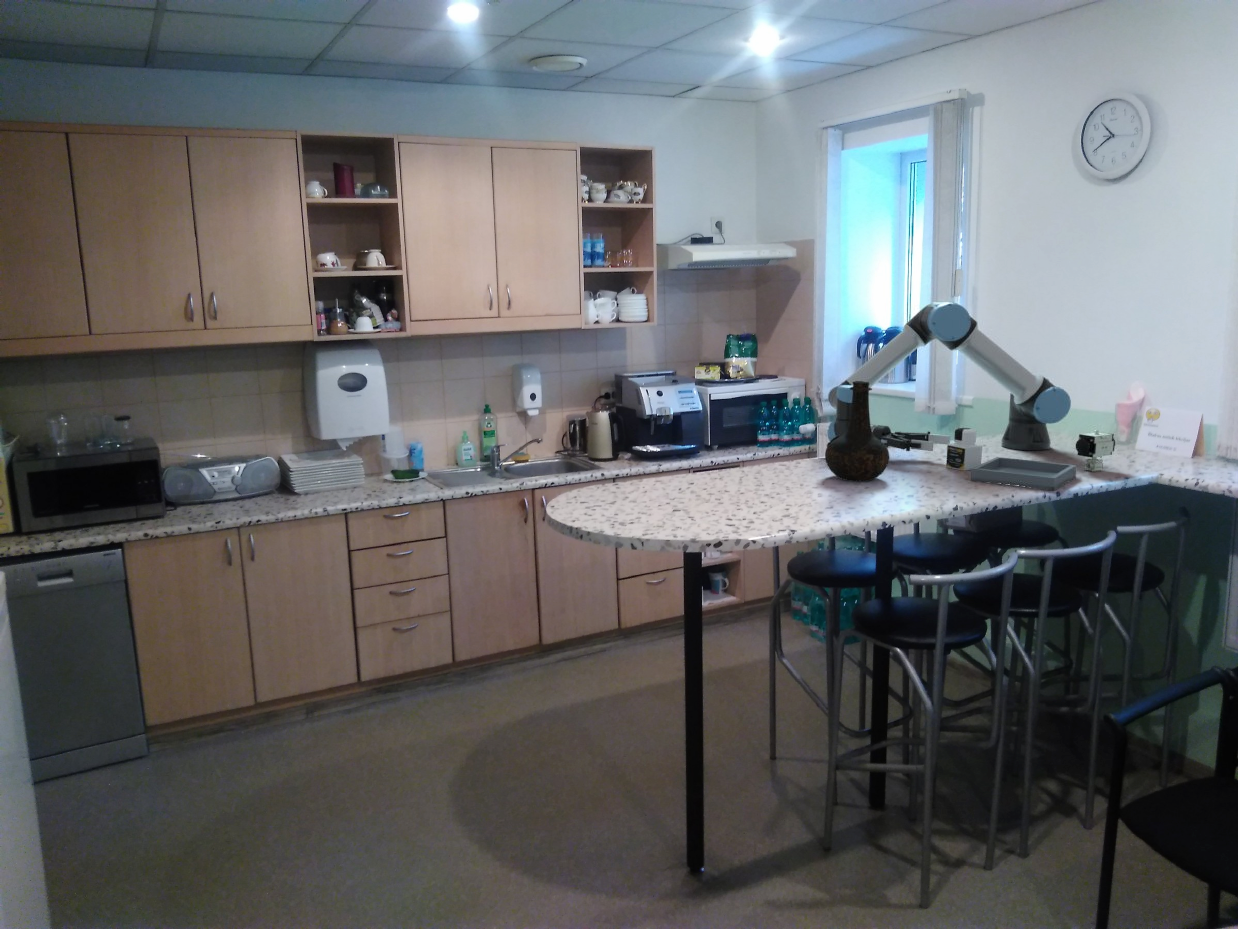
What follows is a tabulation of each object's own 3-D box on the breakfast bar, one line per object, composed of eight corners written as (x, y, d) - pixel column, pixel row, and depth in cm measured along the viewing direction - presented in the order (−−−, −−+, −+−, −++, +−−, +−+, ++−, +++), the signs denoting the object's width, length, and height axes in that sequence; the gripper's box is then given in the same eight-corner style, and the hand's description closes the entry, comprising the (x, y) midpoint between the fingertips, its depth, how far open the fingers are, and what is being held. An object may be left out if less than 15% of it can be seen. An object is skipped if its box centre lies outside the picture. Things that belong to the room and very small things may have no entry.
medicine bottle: (945, 467, 277) (947, 427, 275) (963, 464, 280) (965, 426, 277) (963, 471, 270) (965, 431, 268) (981, 468, 273) (983, 429, 271)
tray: (996, 468, 274) (996, 456, 273) (1075, 477, 260) (1076, 465, 259) (970, 480, 257) (971, 468, 257) (1053, 491, 243) (1055, 478, 243)
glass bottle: (835, 470, 274) (838, 376, 269) (895, 475, 265) (900, 379, 260) (815, 481, 259) (818, 382, 254) (878, 487, 250) (883, 385, 245)
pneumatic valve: (1072, 471, 268) (1076, 430, 266) (1099, 467, 274) (1102, 427, 271) (1089, 474, 264) (1093, 433, 261) (1116, 470, 269) (1120, 430, 266)
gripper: (891, 442, 301) (955, 449, 288) (857, 454, 283) (924, 461, 269) (892, 420, 300) (956, 426, 287) (858, 430, 281) (925, 436, 268)
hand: (941, 443), depth 278 cm, fingers open, 13 cm apart
